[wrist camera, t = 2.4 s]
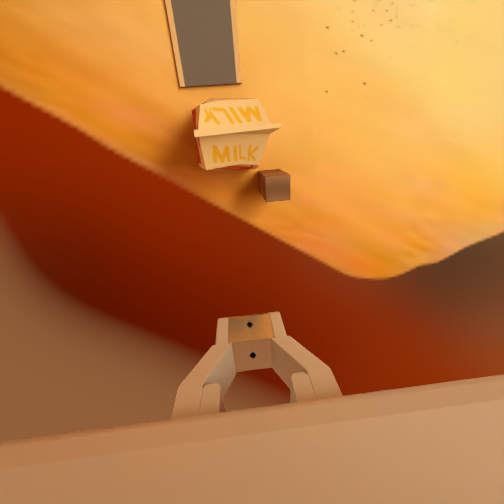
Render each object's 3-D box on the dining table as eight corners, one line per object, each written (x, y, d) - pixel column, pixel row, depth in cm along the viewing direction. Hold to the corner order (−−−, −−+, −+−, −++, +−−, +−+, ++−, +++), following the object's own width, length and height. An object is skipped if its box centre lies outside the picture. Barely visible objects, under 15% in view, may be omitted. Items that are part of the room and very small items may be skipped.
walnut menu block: (258, 170, 38) (265, 176, 31) (279, 169, 38) (290, 174, 31) (259, 191, 39) (266, 202, 32) (279, 189, 40) (290, 199, 32)
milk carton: (203, 169, 37) (177, 193, 19) (197, 104, 33) (157, 55, 15) (257, 169, 38) (281, 191, 20) (258, 104, 34) (288, 58, 16)
